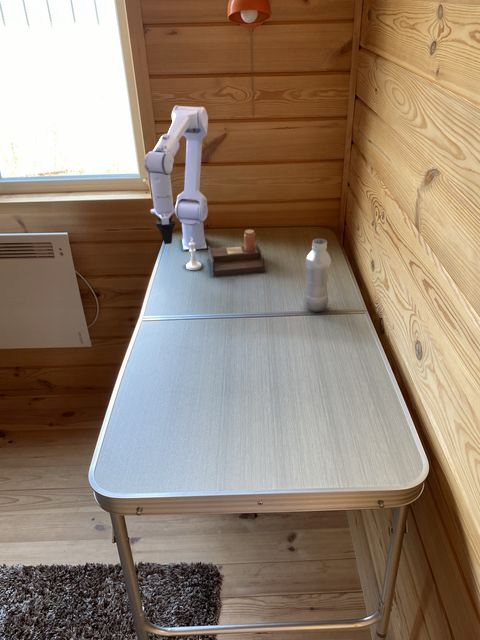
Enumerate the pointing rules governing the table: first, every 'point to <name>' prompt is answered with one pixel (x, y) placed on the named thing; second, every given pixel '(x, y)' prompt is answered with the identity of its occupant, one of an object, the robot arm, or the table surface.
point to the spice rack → (235, 260)
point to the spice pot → (249, 240)
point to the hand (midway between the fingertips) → (167, 238)
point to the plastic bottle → (317, 276)
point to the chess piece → (193, 258)
